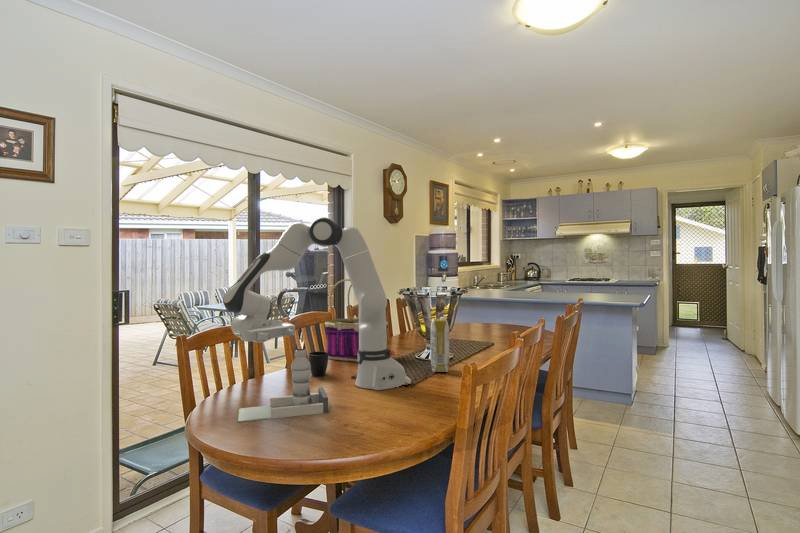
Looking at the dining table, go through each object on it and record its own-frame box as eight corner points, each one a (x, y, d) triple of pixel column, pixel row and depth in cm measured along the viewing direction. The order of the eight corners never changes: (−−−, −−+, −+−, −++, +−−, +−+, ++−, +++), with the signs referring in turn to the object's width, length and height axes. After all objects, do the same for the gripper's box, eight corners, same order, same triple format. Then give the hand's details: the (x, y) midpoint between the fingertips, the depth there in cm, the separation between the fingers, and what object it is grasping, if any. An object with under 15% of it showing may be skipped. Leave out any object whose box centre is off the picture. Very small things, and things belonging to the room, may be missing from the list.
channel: (322, 400, 162) (322, 386, 162) (328, 412, 150) (328, 397, 150) (270, 406, 156) (270, 391, 156) (271, 418, 144) (271, 403, 144)
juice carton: (449, 373, 197) (449, 318, 196) (431, 373, 197) (431, 318, 197) (447, 368, 206) (447, 315, 206) (430, 368, 207) (430, 315, 206)
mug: (334, 371, 203) (334, 349, 203) (323, 378, 191) (323, 355, 191) (317, 370, 205) (316, 349, 204) (305, 377, 193) (305, 354, 193)
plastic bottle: (307, 413, 150) (306, 352, 149) (288, 411, 151) (287, 351, 150) (314, 406, 156) (314, 348, 155) (296, 405, 157) (295, 347, 157)
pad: (270, 406, 156) (270, 405, 156) (271, 418, 145) (271, 417, 145) (239, 409, 153) (239, 408, 153) (237, 422, 142) (237, 420, 142)
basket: (392, 355, 233) (391, 277, 231) (376, 364, 214) (375, 279, 213) (338, 351, 244) (337, 276, 243) (319, 359, 226) (318, 278, 224)
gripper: (233, 325, 162) (253, 329, 153) (282, 319, 178) (303, 323, 168) (233, 342, 163) (253, 348, 153) (282, 335, 178) (303, 340, 168)
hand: (280, 335), depth 161 cm, fingers open, 8 cm apart
